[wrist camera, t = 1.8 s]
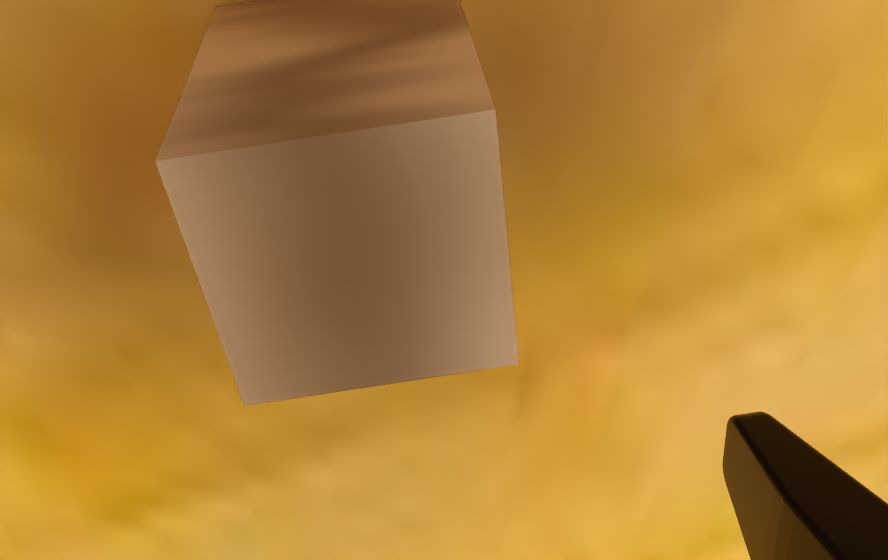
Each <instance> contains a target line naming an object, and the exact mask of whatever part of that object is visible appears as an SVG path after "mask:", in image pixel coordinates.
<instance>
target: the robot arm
mask: <svg viewBox="0 0 888 560" xmlns="http://www.w3.org/2000/svg"><path fill="white" fill-rule="evenodd" d="M723 473H724V478H725V482H726V485H727V488H728V491H729V495H730V498H731V501H732V504H733V507H734V510H735V513H736V516H737V519H738V522H739V525H740V528H741V531H742V534H743V537H744V540H745V543H746V547H747V550H748V553H749V556H750V559H751V560H888V504H887V503H886V502H885V501H883V500H882V499H881V498H879V497H878V496H877V495H875V494H874V493H873V492H872V491H870V490H869V489H868V488H866V487H865V486H864V485H862V484H861V483H860V482H858V481H857V480H856V479H854V478H853V477H852V476H850V475H849V474H848V473H846V472H845V471H844V470H842V469H841V468H840V467H838V466H837V465H836V464H834V463H833V462H832V461H830V460H829V459H828V458H826V457H825V456H824V455H822V454H821V453H820V452H818V451H817V450H816V449H814V448H813V447H812V446H810V445H809V444H808V443H806V442H805V441H804V440H803V439H801V438H800V437H799V436H797V435H796V434H795V433H793V432H792V431H791V430H789V429H788V428H787V427H785V426H784V425H783V424H781V423H780V422H779V421H777V420H776V419H775V418H773V417H772V416H771V415H769V414H767V413H764V412H754V413H747V414H740V415H734V416H732V417H731V418H730V419H729V421H728V423H727V429H726V438H725V447H724V456H723Z"/></svg>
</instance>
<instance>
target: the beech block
mask: <svg viewBox="0 0 888 560" xmlns="http://www.w3.org/2000/svg"><path fill="white" fill-rule="evenodd" d="M155 163H156V165H157V168H158V171H159V174H160V176H161V179H162V182H163V185H164V187H165V190H166V193H167V196H168V198H169V201H170V204H171V207H172V209H173V212H174V215H175V218H176V220H177V223H178V226H179V229H180V231H181V234H182V237H183V240H184V242H185V245H186V248H187V250H188V253H189V256H190V259H191V261H192V264H193V267H194V270H195V272H196V275H197V278H198V281H199V283H200V286H201V289H202V292H203V294H204V297H205V300H206V303H207V305H208V308H209V311H210V314H211V316H212V319H213V322H214V325H215V327H216V330H217V333H218V336H219V338H220V341H221V344H222V346H223V349H224V352H225V355H226V357H227V360H228V363H229V366H230V368H231V371H232V374H233V377H234V379H235V382H236V385H237V388H238V390H239V393H240V396H241V399H242V401H243V404H244V406H248V405H255V404H261V403H268V402H274V401H281V400H287V399H294V398H301V397H307V396H314V395H320V394H327V393H333V392H340V391H347V390H353V389H360V388H366V387H373V386H379V385H386V384H393V383H399V382H406V381H412V380H419V379H425V378H432V377H439V376H445V375H452V374H458V373H465V372H471V371H478V370H485V369H491V368H498V367H504V366H511V365H518V364H519V359H518V348H517V337H516V326H515V315H514V304H513V293H512V283H511V272H510V261H509V250H508V239H507V228H506V217H505V207H504V196H503V185H502V174H501V163H500V152H499V141H498V131H497V120H496V109H495V106H494V103H493V100H492V97H491V94H490V91H489V88H488V85H487V82H486V79H485V76H484V73H483V70H482V67H481V64H480V61H479V58H478V55H477V52H476V49H475V46H474V43H473V40H472V37H471V34H470V31H469V28H468V25H467V22H466V19H465V16H464V12H463V9H462V6H461V3H460V0H254V1H247V2H240V3H234V4H227V5H220V6H216V7H215V10H214V12H213V15H212V18H211V20H210V23H209V25H208V28H207V30H206V33H205V35H204V38H203V40H202V43H201V45H200V48H199V51H198V53H197V56H196V58H195V61H194V63H193V66H192V68H191V71H190V73H189V76H188V78H187V81H186V84H185V86H184V89H183V91H182V94H181V96H180V99H179V101H178V104H177V106H176V109H175V111H174V114H173V117H172V119H171V122H170V124H169V127H168V129H167V132H166V134H165V137H164V139H163V142H162V144H161V147H160V150H159V152H158V155H157V157H156V160H155Z"/></svg>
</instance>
